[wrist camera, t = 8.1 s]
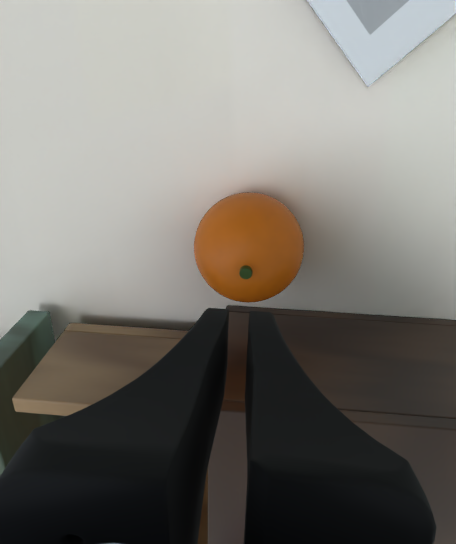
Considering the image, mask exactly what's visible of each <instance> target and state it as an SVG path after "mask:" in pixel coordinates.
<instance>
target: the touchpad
mask: <svg viewBox="0 0 456 544" xmlns="http://www.w3.org/2000/svg"><path fill="white" fill-rule="evenodd" d="M307 1H308V2H309V4H310V5H311V7H312V8H313V10H314V11H315V12H316V14H317V15H318V17H319V18H320V20H321V21H322V22H323V24H324V25H325V27H326V28H327V30H328V31H329V32H330V34H331V35H332V37H333V38H334V40H335V41H336V42H337V44H338V45H339V47H340V48H341V49H342V51H343V52H344V54H345V55H346V57H347V58H348V59H349V61H350V62H351V64H352V65H353V67H354V68H355V69H356V71H357V72H358V74H359V75H360V77H361V78H362V79H363V81H364V82H365V84H366V85H367V86H370V85H371V84H372V83H373V82H374V81H376V80H377V79H378V78H379V77H380V76H382V75H383V74H384V73H385V72H386V71H388V70H389V69H390V68H391V67H392V66H394V65H395V64H396V63H397V62H398V61H399V60H401V59H402V58H403V57H404V56H405V55H407V54H408V53H409V52H410V51H411V50H413V49H414V48H415V47H416V46H417V45H419V44H420V43H421V42H422V41H423V40H425V39H426V38H427V37H428V36H429V35H430V34H432V33H433V32H434V31H435V30H436V29H438V28H439V27H440V26H441V25H442V24H444V23H445V22H446V21H447V20H448V19H450V18H451V17H452V16H453V15H454V14H456V0H307Z"/></svg>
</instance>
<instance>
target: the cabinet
mask: <svg viewBox="0 0 456 544" xmlns="http://www.w3.org/2000/svg"><path fill="white" fill-rule="evenodd" d="M226 309H229V329H228V364H227V375H226V384H225V393H224V398H223V403H222V407H221V412H220V416H219V420H218V425H217V429H216V433H215V437H214V442H213V446H212V450H211V455H210V459H209V464H208V544H244V530H245V512H246V494H247V444H246V418H245V382H246V363H247V344H248V325H249V313H250V311H261V312H271V313H272V314H273V315H274V317H275V320H276V323H277V326H278V328H279V330H280V332H281V334H282V336H283V338H284V340H285V342H286V344H287V345H288V347H289V349H290V350H291V352H292V354H293V356H294V357H295V359H296V360H297V362H298V363H299V365H300V366H301V367H302V369H303V370H304V372H305V373H306V374H307V376H308V377H309V378H310V380H311V381H312V382H313V383H314V384H315V386H316V387H317V388H318V389H319V390H320V391H321V393H322V394H323V395H324V396H325V397H326V398H327V399H328V400H329V401H330V402H331V403H332V404H333V405H334V406H335V407H336V408H337V409H338V410H340V411H341V412H342V413H343V414H344V415H345V416H346V417H347V418H348V419H350V420H351V421H352V422H353V423H354V424H356V425H357V426H358V427H359V428H361V429H362V430H363V431H365V432H366V433H367V434H369V435H370V436H371V437H373V438H374V439H375V440H377V441H378V442H380V443H381V444H383V445H385V446H386V447H388V448H389V449H391V450H392V451H394V452H395V453H397V454H398V455H400V456H401V457H403V458H405V459H406V460H408V462H409V463H410V465H411V467H412V469H413V471H414V473H415V475H416V477H417V479H418V481H419V483H420V485H421V487H422V488H423V490H424V492H425V494H426V497H427V499H428V502H429V504H430V507H431V510H432V513H433V516H434V520H435V523H436V527H437V528H436V534H435V541H434V543H433V544H456V320H442V319H426V318H411V317H395V316H380V315H364V314H349V313H333V312H317V311H302V310H286V309H271V308H255V307H240V306H227V307H226Z"/></svg>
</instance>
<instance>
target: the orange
mask: <svg viewBox="0 0 456 544" xmlns="http://www.w3.org/2000/svg"><path fill="white" fill-rule="evenodd" d="M194 253H195V260H196V263H197V267H198V269H199V271H200V273H201V275H202V277H203V278H204V280H205V281H206V282H207V283H208V285H209V286H211V287H212V288H213V289H214V290H215V291H216V292H218V293H219V294H221V295H223V296H224V297H227V298H229V299H232V300H235V301H240V302H258V301H263V300H266V299H269V298H271V297H273V296H275V295H277V294H279V293H280V292H281V291H283V290H284V289H285V288H286V287H287V286H288V285H289V284H290V283H291V282H292V280H293V279H294V278H295V276H296V275H297V273H298V271H299V268H300V266H301V263H302V259H303V253H304V240H303V235H302V232H301V229H300V226H299V224H298V222H297V220H296V218H295V217H294V215H293V214H292V213H291V211H290V210H289V209H288V208H287V207H286V206H284V205H283V204H282V203H281V202H279V201H278V200H276V199H274V198H272V197H270V196H267V195H264V194H260V193H250V192H247V193H239V194H234V195H231V196H229V197H226V198H224V199H222V200H221V201H219V202H218V203H216V204H215V205H214V206H213V207H211V208H210V209H209V210H208V212H207V213H206V214H205V215H204V217H203V219H202V220H201V222H200V224H199V226H198V228H197V232H196V236H195V242H194Z"/></svg>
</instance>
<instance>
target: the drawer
mask: <svg viewBox="0 0 456 544" xmlns="http://www.w3.org/2000/svg"><path fill="white" fill-rule="evenodd" d="M187 332H188V331H182V330H168V329H153V328H138V327H124V326H109V325H95V324H80V323H69V325H68V326H67V327H66V328H65V330H64V332H62V334H61V335H60V336H59V338H58V339H57V340H56V342H55V339H54V334H53V329H52V323H51V318H50V313H49V312H47V311H32V310H30V311H28V312H27V313H26V314H25V315H24V316H23V317H22V318H21V319H20V320H19V321H18V322H17V323H16V324H15V325H14V326H13V327H12V328H11V329H10V330H9V331H8V332H7V333H6V334H5V335H4V336H3V338H2V339H1V340H0V476H1V474H2V473H3V471H4V470H5V468H6V466H7V465H8V463H9V462H10V460H11V459H12V457H13V456H14V454H15V453H16V451H17V450H18V449H19V447H20V446H21V444H22V443H23V442H24V441H25V440H26V438H27V437H28V436H29V435H30V433H31V432H32V431H33V429H34V428H37V427H40V426H43V425H45V424H48V423H50V422H53V421H55V420H58V419H60V418H63V417H65V416H68V415H70V414H73V413H75V412H77V411H79V410H82V409H84V408H86V407H88V406H90V405H92V404H94V403H96V402H98V401H100V400H102V399H104V398H105V397H107V396H109V395H111V394H113V393H114V392H116V391H117V390H119V389H121V388H122V387H124V386H125V385H127V384H129V383H130V382H132V381H134V380H135V379H137V378H138V377H139V376H141V375H142V374H143V373H145V372H146V371H147V370H148V369H150V368H151V367H152V366H153V365H155V364H156V363H157V362H158V361H159V360H160V359H161V358H163V357H164V356H165V355H166V354H167V353H168V352H169V351H170V350H171V349H172V348H173V347H174V346H175V345H176V344H177V343H178V342H179V341H180V340H181V339H182V338H183V337H184V336H185V335H186V334H187ZM198 544H208V469H207V474H206V481H205V489H204V496H203V504H202V512H201V520H200V528H199V536H198Z"/></svg>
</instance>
